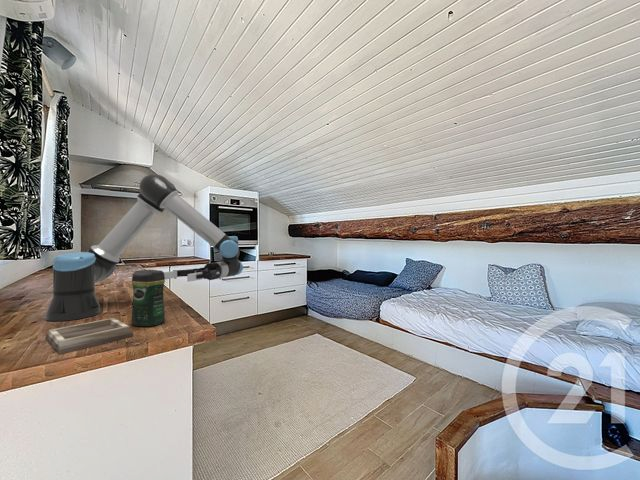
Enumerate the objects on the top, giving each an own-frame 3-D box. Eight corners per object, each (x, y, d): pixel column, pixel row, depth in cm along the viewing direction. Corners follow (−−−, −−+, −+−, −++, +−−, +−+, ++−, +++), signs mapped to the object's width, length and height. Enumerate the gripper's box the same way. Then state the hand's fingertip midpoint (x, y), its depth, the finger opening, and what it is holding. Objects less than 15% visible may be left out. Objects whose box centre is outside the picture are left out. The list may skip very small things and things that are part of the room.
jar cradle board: (45, 338, 79) (45, 328, 79) (112, 324, 92) (112, 316, 92) (59, 354, 68) (59, 343, 68) (132, 336, 81) (133, 327, 81)
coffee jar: (169, 321, 96) (169, 269, 96) (149, 328, 88) (150, 271, 88) (147, 319, 99) (147, 268, 98) (126, 325, 91) (127, 270, 91)
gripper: (238, 280, 118) (200, 289, 98) (194, 277, 127) (151, 285, 107) (238, 263, 118) (199, 268, 98) (194, 261, 127) (151, 266, 107)
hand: (174, 277), depth 103 cm, fingers open, 13 cm apart
